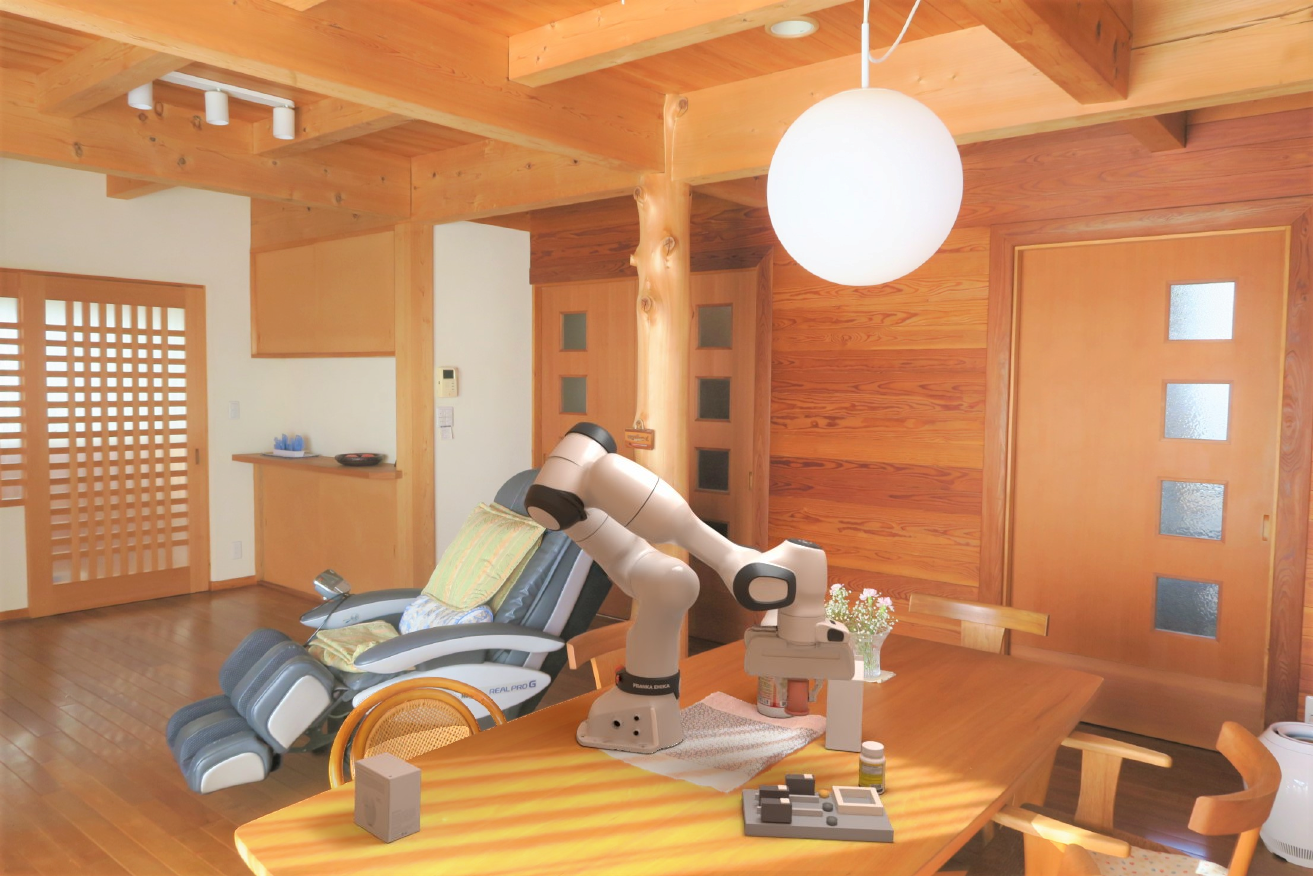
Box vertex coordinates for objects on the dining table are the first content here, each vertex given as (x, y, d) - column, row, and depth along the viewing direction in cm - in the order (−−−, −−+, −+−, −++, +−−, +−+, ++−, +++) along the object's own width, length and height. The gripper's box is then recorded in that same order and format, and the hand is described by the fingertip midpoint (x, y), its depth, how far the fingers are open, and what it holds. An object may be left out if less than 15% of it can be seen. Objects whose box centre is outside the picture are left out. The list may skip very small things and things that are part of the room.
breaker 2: (761, 821, 151) (761, 802, 151) (760, 815, 153) (760, 796, 153) (791, 822, 151) (792, 803, 151) (790, 816, 153) (791, 798, 153)
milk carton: (860, 753, 186) (864, 661, 185) (825, 749, 187) (828, 658, 186) (860, 740, 193) (863, 651, 192) (825, 736, 194) (828, 648, 193)
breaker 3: (785, 795, 161) (786, 777, 161) (784, 790, 163) (785, 772, 163) (814, 796, 161) (815, 778, 160) (813, 791, 163) (813, 774, 162)
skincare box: (422, 830, 150) (422, 768, 150) (387, 844, 145) (387, 780, 145) (387, 809, 157) (387, 749, 157) (352, 822, 152) (353, 760, 152)
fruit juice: (751, 714, 206) (755, 591, 205) (763, 701, 215) (767, 583, 213) (792, 721, 203) (796, 596, 201) (803, 708, 211) (807, 588, 210)
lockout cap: (785, 715, 168) (787, 683, 168) (783, 707, 173) (784, 675, 172) (810, 717, 168) (812, 684, 168) (807, 708, 173) (809, 676, 172)
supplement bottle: (865, 782, 172) (867, 738, 172) (888, 789, 170) (890, 745, 169) (853, 790, 169) (855, 745, 168) (877, 798, 166) (879, 752, 165)
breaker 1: (759, 807, 156) (759, 788, 156) (758, 801, 158) (759, 783, 158) (788, 808, 156) (789, 790, 156) (787, 803, 158) (788, 785, 158)
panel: (745, 835, 151) (746, 814, 151) (742, 799, 164) (742, 780, 164) (893, 842, 150) (894, 821, 150) (878, 805, 163) (878, 786, 162)
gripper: (745, 629, 167) (742, 703, 167) (858, 634, 166) (855, 709, 167) (743, 620, 173) (740, 692, 174) (852, 625, 172) (848, 697, 173)
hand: (797, 700), depth 170 cm, fingers closed on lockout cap, 4 cm apart
